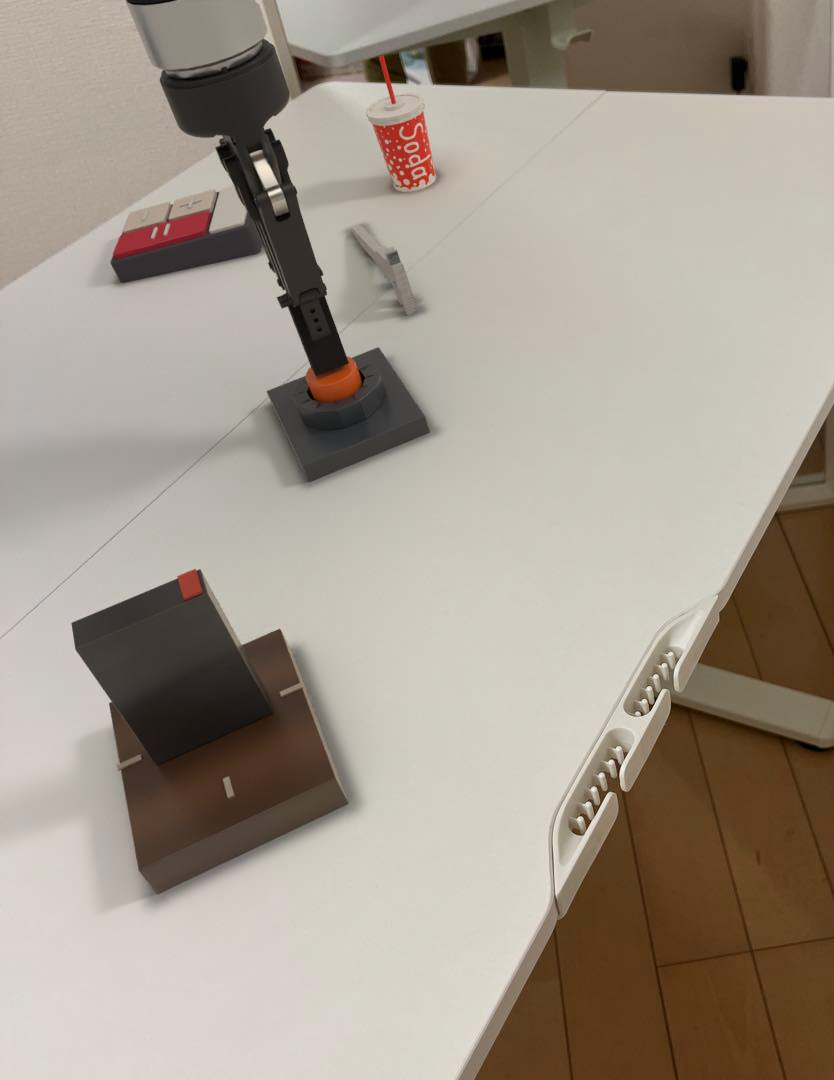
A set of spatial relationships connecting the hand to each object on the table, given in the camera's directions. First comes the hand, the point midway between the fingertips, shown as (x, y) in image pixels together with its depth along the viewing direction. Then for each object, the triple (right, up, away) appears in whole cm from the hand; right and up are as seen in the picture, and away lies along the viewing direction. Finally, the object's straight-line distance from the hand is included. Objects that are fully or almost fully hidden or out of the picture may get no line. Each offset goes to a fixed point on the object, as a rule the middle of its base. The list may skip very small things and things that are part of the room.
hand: (330, 365), depth 85 cm
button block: (+1, -4, +4) cm, 6 cm away
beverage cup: (+3, +25, +35) cm, 43 cm away
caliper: (+1, +12, +22) cm, 25 cm away
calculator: (-20, +18, +33) cm, 43 cm away
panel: (-2, -27, -20) cm, 34 cm away
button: (0, -2, +2) cm, 2 cm away
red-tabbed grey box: (-3, -24, -21) cm, 32 cm away
